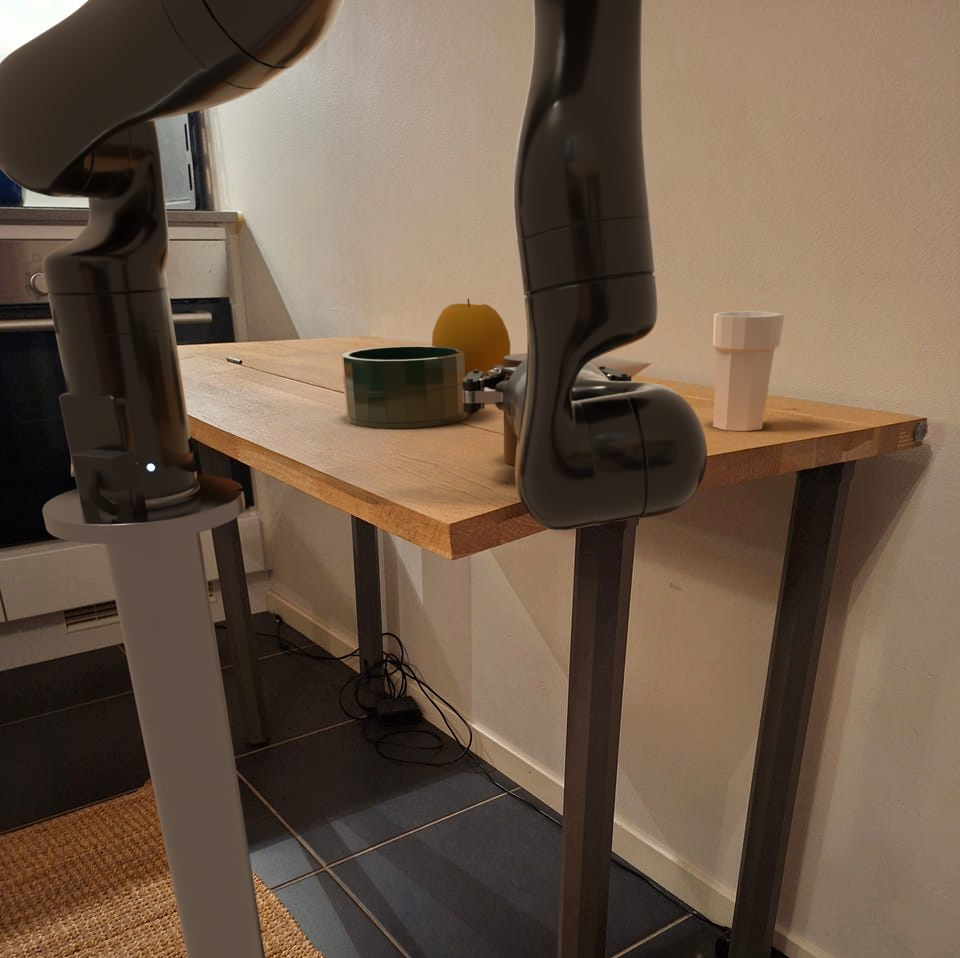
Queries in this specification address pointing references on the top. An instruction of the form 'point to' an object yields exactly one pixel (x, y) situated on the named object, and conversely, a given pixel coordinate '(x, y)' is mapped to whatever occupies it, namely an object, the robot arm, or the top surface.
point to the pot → (404, 386)
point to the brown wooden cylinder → (509, 435)
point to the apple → (473, 335)
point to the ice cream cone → (620, 364)
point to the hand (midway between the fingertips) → (531, 376)
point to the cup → (743, 366)
